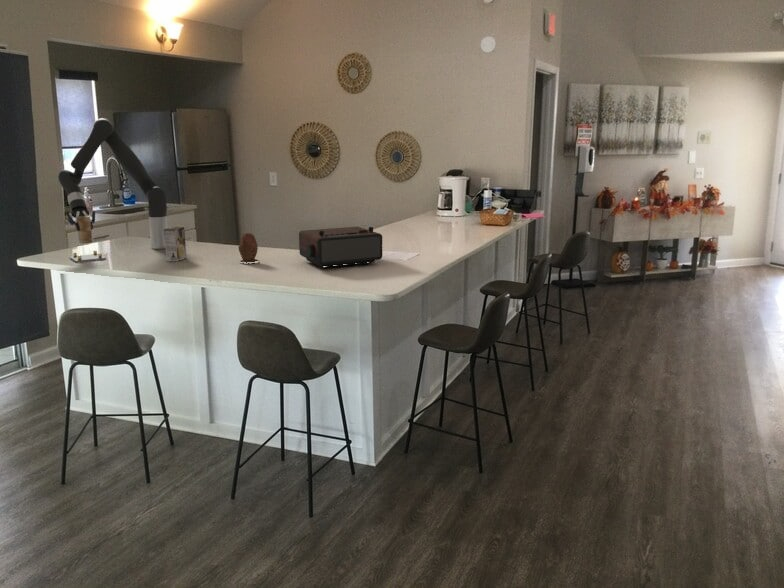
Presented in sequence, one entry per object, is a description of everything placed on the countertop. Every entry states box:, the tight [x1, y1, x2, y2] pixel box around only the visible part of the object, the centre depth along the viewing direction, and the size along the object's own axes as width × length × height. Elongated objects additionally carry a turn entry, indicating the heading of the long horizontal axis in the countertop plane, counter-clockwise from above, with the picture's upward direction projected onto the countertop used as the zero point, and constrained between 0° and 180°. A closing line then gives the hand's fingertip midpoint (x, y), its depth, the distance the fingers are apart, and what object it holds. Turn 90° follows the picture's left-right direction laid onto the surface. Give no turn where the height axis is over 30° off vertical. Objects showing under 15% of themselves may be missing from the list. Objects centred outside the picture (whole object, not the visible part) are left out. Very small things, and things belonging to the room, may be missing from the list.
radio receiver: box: [298, 226, 383, 268], centre depth 328 cm, size 35×27×18 cm
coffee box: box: [164, 226, 187, 262], centre depth 337 cm, size 9×6×16 cm
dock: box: [69, 250, 107, 264], centre depth 341 cm, size 14×14×3 cm
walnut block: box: [77, 215, 93, 245], centre depth 338 cm, size 5×5×13 cm
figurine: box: [238, 232, 259, 263], centre depth 331 cm, size 9×10×15 cm
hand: (85, 229), depth 337 cm, fingers closed on walnut block, 5 cm apart
